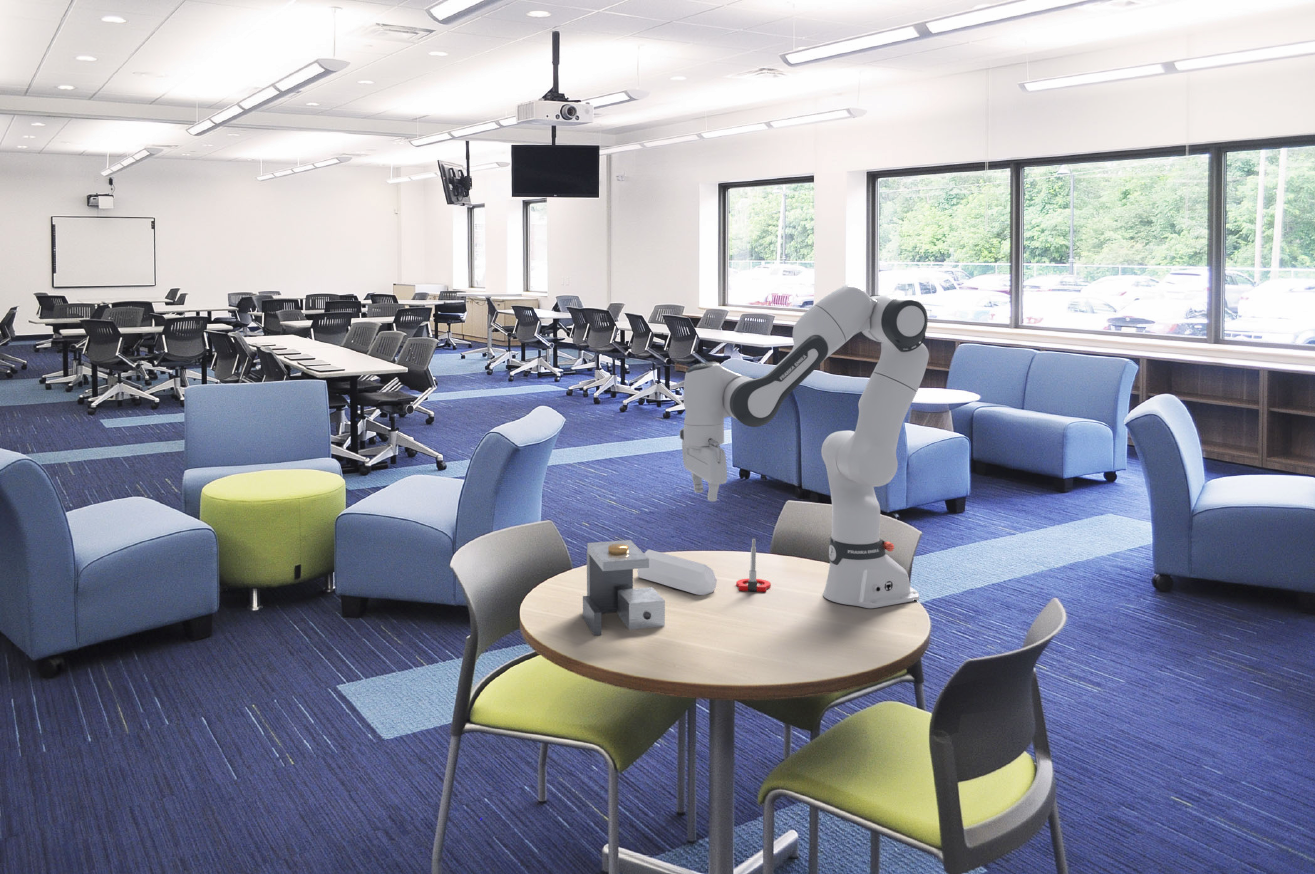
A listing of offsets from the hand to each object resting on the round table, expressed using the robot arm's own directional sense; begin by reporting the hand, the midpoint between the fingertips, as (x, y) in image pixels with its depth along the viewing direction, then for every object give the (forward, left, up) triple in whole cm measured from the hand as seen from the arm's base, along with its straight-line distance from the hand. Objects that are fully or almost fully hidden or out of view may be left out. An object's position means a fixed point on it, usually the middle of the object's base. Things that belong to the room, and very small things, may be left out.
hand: (705, 496), depth 238 cm
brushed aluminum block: (+16, +3, -27) cm, 31 cm away
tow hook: (-17, -14, -27) cm, 35 cm away
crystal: (+1, -21, -27) cm, 34 cm away
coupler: (+22, +2, -26) cm, 34 cm away
